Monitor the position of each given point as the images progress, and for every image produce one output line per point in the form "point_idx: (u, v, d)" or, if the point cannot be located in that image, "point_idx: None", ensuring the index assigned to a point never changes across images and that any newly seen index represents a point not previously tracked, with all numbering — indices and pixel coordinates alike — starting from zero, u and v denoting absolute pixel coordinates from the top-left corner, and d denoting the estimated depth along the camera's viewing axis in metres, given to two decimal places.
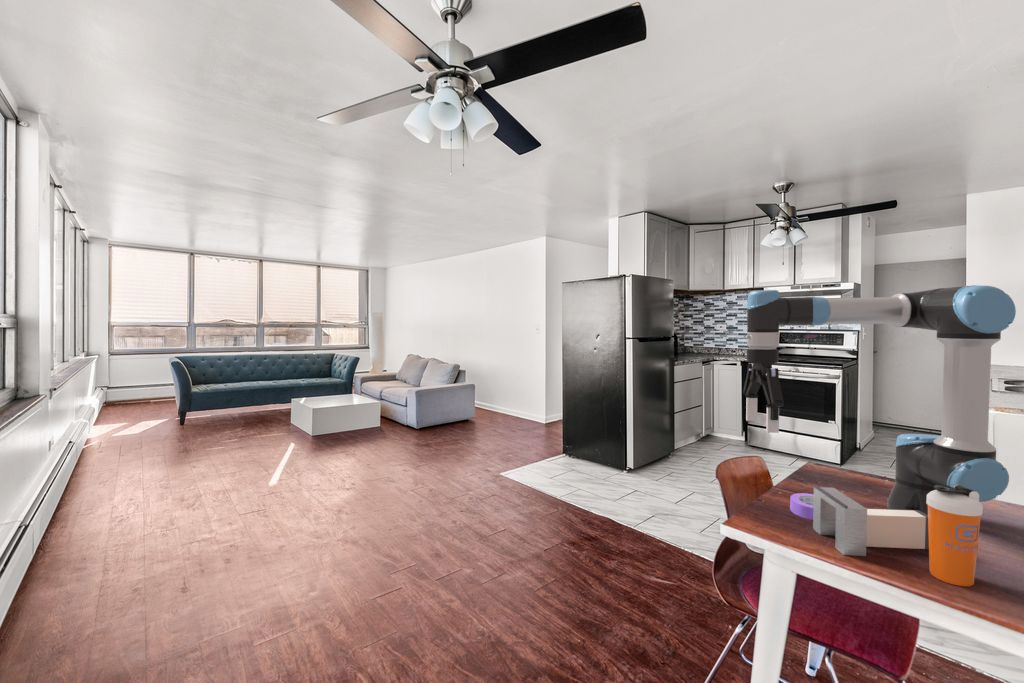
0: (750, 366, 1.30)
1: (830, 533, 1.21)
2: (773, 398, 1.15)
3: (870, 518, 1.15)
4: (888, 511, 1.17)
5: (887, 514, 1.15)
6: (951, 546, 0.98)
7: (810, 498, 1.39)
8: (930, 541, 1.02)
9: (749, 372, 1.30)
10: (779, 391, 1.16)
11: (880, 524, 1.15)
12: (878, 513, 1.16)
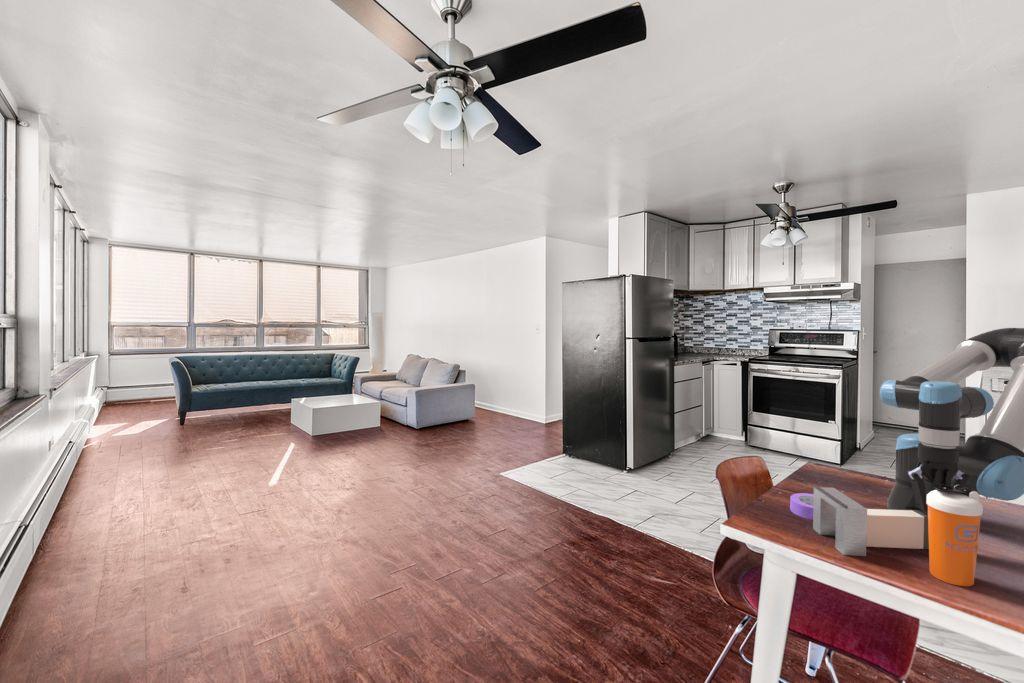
0: None
1: (830, 533, 1.21)
2: (916, 500, 1.16)
3: (869, 518, 1.15)
4: (887, 511, 1.17)
5: (885, 514, 1.15)
6: (951, 546, 0.98)
7: (810, 498, 1.39)
8: (930, 541, 1.02)
9: (952, 478, 1.15)
10: (919, 496, 1.14)
11: (879, 524, 1.15)
12: (876, 513, 1.16)
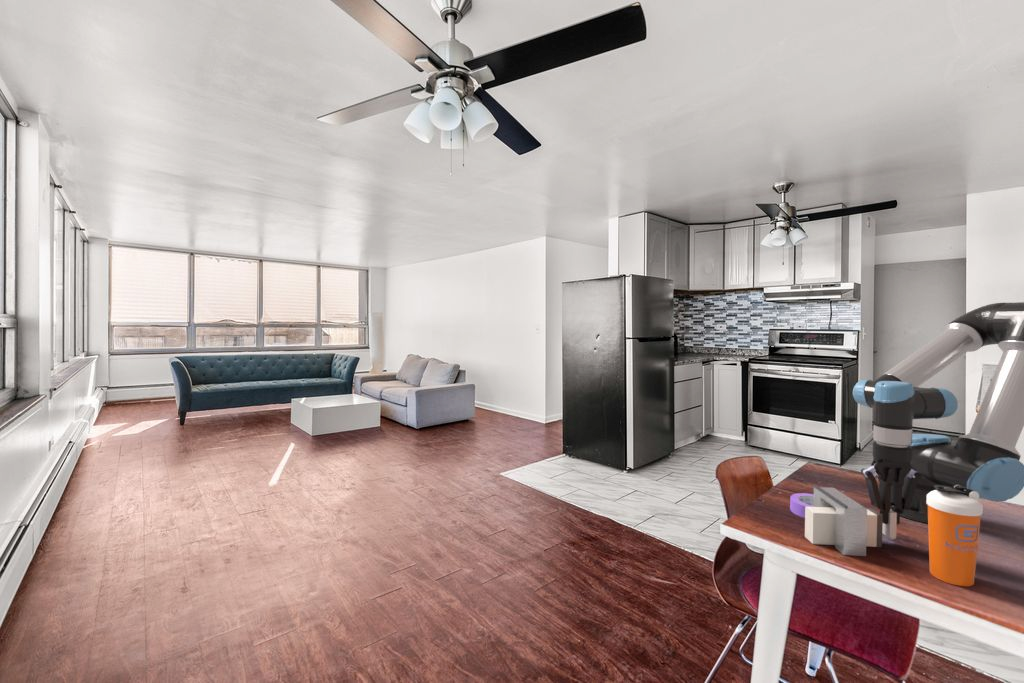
0: None
1: None
2: (870, 499, 1.17)
3: (823, 516, 1.16)
4: None
5: None
6: (951, 546, 0.98)
7: (810, 498, 1.39)
8: (930, 541, 1.02)
9: (906, 477, 1.16)
10: (873, 494, 1.16)
11: (833, 522, 1.16)
12: (831, 511, 1.17)
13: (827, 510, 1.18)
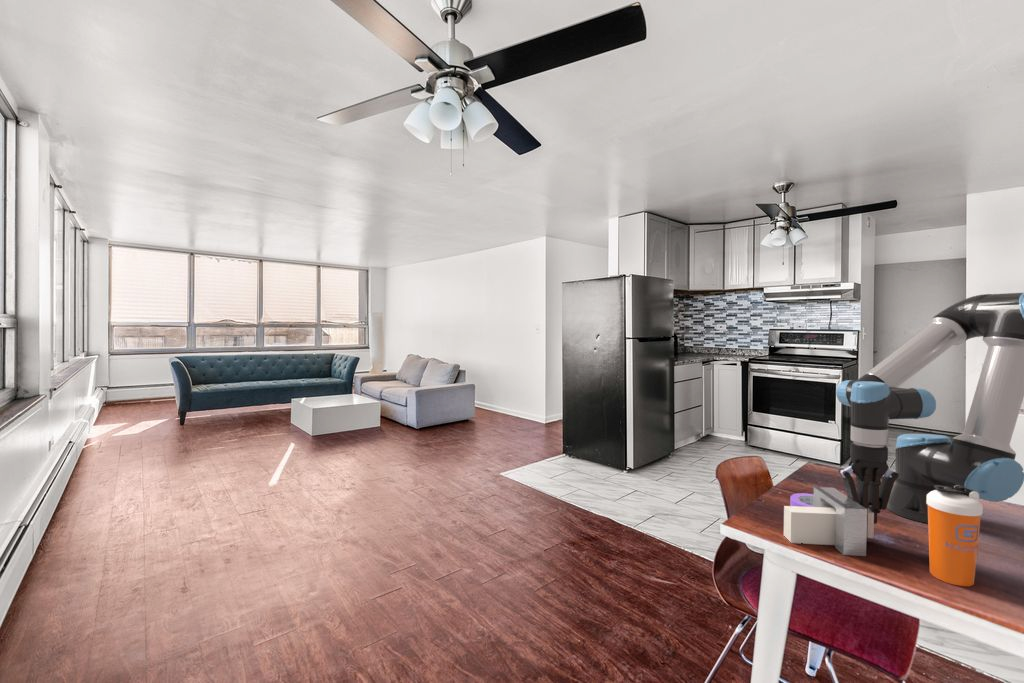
0: None
1: None
2: None
3: (800, 516, 1.17)
4: (820, 509, 1.19)
5: (817, 512, 1.17)
6: (951, 546, 0.98)
7: (810, 498, 1.39)
8: (930, 541, 1.02)
9: (883, 477, 1.17)
10: (851, 494, 1.16)
11: (811, 521, 1.17)
12: (809, 510, 1.18)
13: (805, 509, 1.18)
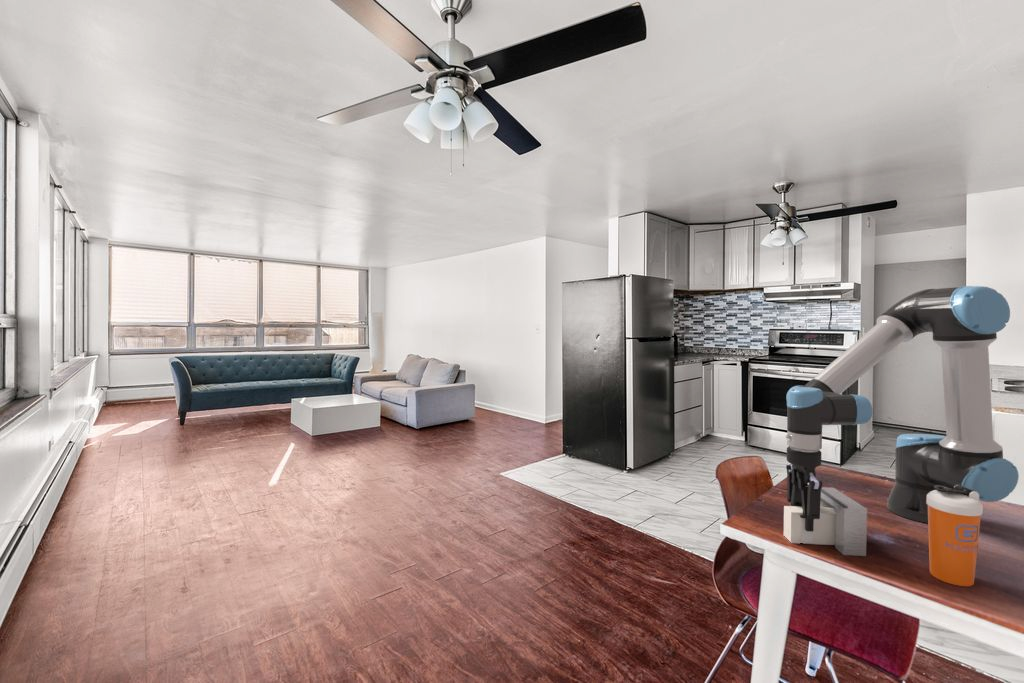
0: (789, 467, 1.24)
1: None
2: (810, 512, 1.13)
3: None
4: (820, 509, 1.19)
5: None
6: (951, 546, 0.98)
7: None
8: (930, 541, 1.02)
9: (789, 474, 1.23)
10: (818, 505, 1.13)
11: None
12: None
13: None
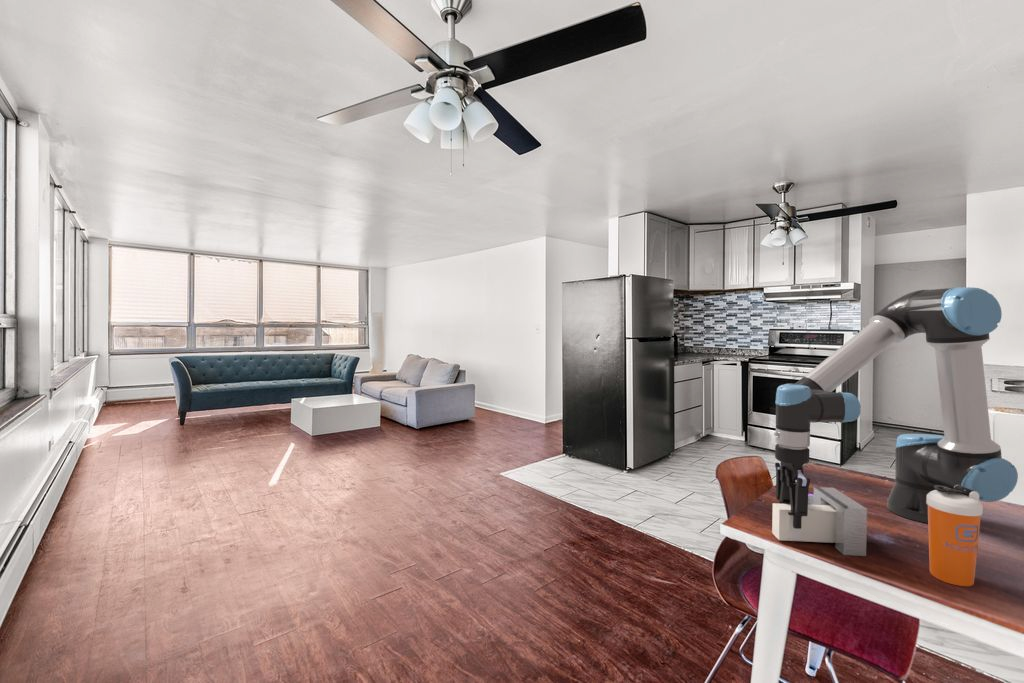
0: (778, 465, 1.24)
1: None
2: (797, 509, 1.13)
3: None
4: (808, 506, 1.19)
5: None
6: (951, 546, 0.98)
7: (810, 498, 1.39)
8: (930, 541, 1.02)
9: (778, 471, 1.23)
10: (805, 502, 1.13)
11: None
12: None
13: None
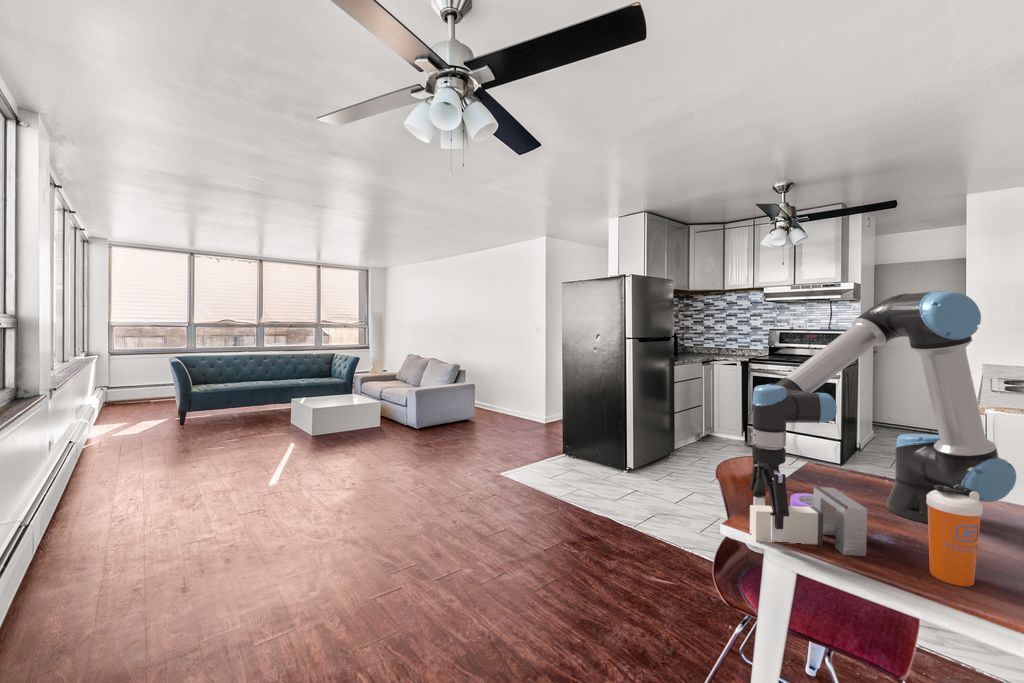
0: (755, 461, 1.25)
1: (830, 533, 1.21)
2: (778, 508, 1.11)
3: (765, 515, 1.18)
4: None
5: None
6: (951, 546, 0.98)
7: (810, 498, 1.39)
8: (930, 541, 1.02)
9: (755, 468, 1.25)
10: (785, 500, 1.11)
11: None
12: None
13: (770, 508, 1.19)
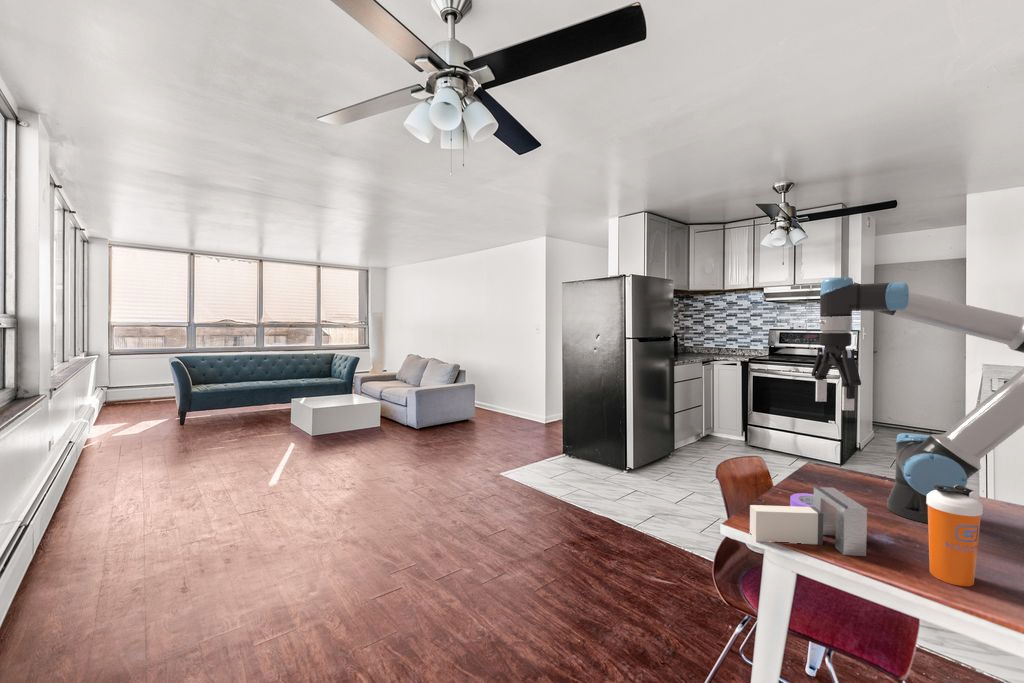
0: (820, 350, 1.38)
1: (830, 533, 1.21)
2: (850, 378, 1.23)
3: (765, 515, 1.18)
4: (785, 508, 1.20)
5: (781, 511, 1.18)
6: (951, 546, 0.98)
7: (810, 498, 1.39)
8: (930, 541, 1.02)
9: (819, 355, 1.39)
10: (856, 371, 1.24)
11: (775, 520, 1.18)
12: (774, 509, 1.19)
13: (770, 508, 1.19)
